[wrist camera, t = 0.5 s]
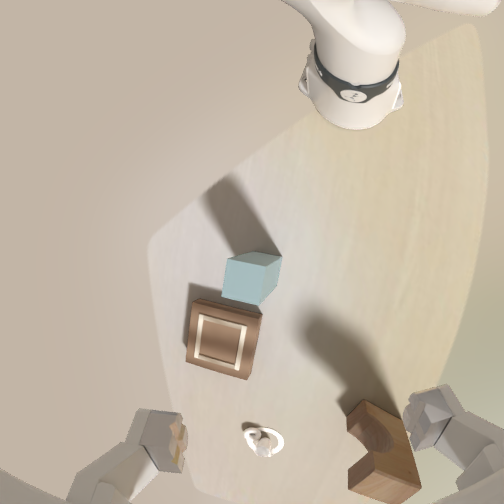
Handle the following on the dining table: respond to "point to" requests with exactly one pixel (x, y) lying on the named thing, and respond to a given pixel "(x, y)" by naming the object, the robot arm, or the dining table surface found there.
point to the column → (251, 277)
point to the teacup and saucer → (262, 441)
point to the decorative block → (382, 456)
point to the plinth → (222, 338)
